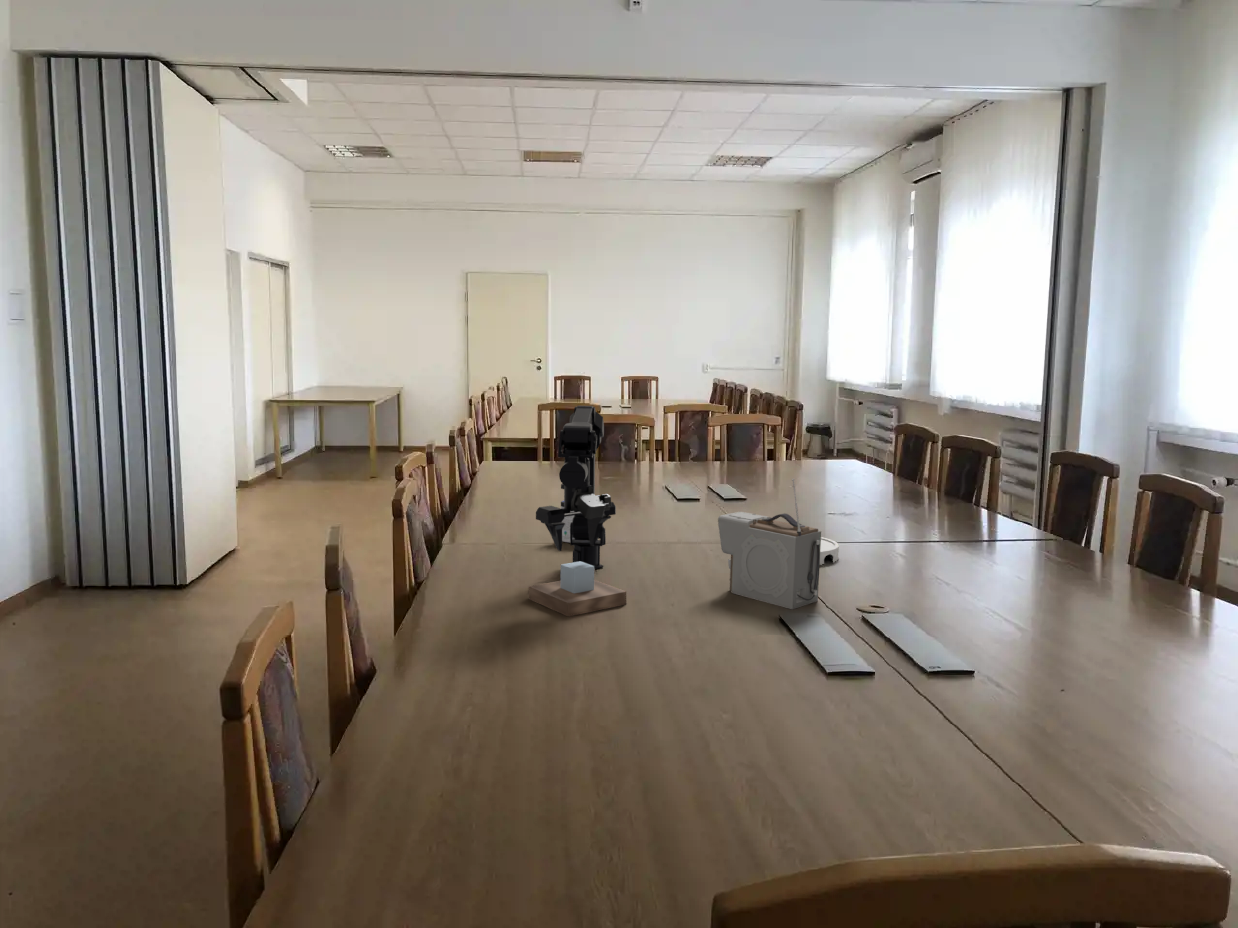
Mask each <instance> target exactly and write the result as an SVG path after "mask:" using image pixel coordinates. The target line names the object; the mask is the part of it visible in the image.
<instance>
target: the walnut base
mask: <svg viewBox="0 0 1238 928" xmlns="http://www.w3.org/2000/svg"><path fill="white" fill-rule="evenodd" d="M560 582H561V580H557V581H551V582H545V583H539V584H534V585H529V586H528V600H530V601H532V602H535V603H537V604H540V605H542V606H544V607H546V608H548V609H551V610H552V611H555V612H557V613H559V614H561V615H564V616H566V617H573V616H578V615H581V614H585V613H591V612H597V611H600V610H605V609H611V608H615V607H620V606H624V605H627V591H626V590H623V589H620V588H619V587H616V586H613V585H611V584H607V583H604V582H601V581H600V580H597V579H595V578H594V590H590V591H585V592H580V593H572V592H569V591H567V590H564V589H562V588H560Z"/></svg>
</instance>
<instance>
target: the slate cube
mask: <svg viewBox="0 0 1238 928" xmlns="http://www.w3.org/2000/svg"><path fill="white" fill-rule="evenodd" d="M594 579H595V569H594V566H592V565H590V564H587V563H584V562H581V561H579V562H573V561H572V562H568V563H562V564H560V581H561V582H560V588H562V589H564V590H567V591H569V592H572V593H580V592H585V591H590V590H594Z"/></svg>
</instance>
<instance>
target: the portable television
mask: <svg viewBox="0 0 1238 928" xmlns="http://www.w3.org/2000/svg"><path fill="white" fill-rule="evenodd" d="M791 481H792V486H793V493H794V494H793V495H794V504H795V505H794V506H795V514H796V515H795V516H796V520H795V519H794V517H792V516H791V515H790V514H788V513H785V512H784V513H780V514H776V515H774V516H772V517H771V516H767V515H761V514H756V513H751V512H745V511H736V512H731V513H726V514H722V515H721V514H720V515H719V516H718V518H717V523H718V524H717V525H718V534H719V539H720V546H721V547H720V549H721V552H722V553H724V554H727V555H730V559H728V560H727V563H728V569H729V570H730V571H729V573H730V574H729V592H731V593H732V594H734V595H739V596H741V597H745V598H750V599H753V600H757V601H758V602H759V601H760V602H764V603H767V604H771V605H774V606H778V607H782V608H786V609H790V610H795V609H798V608H801V607H804V606H807V605H809V604H813V603H816V602H818V601H819V581H820V568H821V567H820V566H821V565H820V546H821V537H822V531H821V530H819V528H815V527H811V526H807V525H804V524H801V523H800V519H799V517H800V516H799V512H798V511H799V509H798V502H797V496H796V489H795V478H792V479H791ZM780 518H782V519H784V520H785V521H786V522H784V521H779V520H777V519H780Z"/></svg>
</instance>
